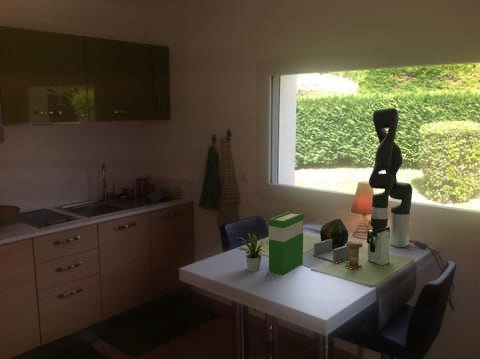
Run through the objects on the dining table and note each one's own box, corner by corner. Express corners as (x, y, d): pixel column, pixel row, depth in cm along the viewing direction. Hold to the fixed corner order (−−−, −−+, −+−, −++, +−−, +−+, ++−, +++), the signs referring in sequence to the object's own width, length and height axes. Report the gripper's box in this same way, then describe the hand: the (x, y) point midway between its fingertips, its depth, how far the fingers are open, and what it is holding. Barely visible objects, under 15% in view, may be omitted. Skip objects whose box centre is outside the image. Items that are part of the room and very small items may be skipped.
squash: (310, 233, 229) (326, 216, 220) (327, 229, 239) (343, 213, 230) (325, 255, 222) (342, 238, 213) (342, 250, 232) (359, 234, 223)
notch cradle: (329, 250, 218) (329, 238, 217) (352, 257, 207) (352, 245, 206) (313, 255, 211) (313, 243, 210) (335, 263, 200) (335, 250, 199)
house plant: (231, 265, 197) (230, 231, 195) (258, 261, 203) (258, 227, 200) (243, 276, 184) (243, 239, 182) (272, 271, 190) (272, 235, 187)
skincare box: (389, 263, 199) (391, 232, 197) (381, 265, 196) (382, 234, 194) (374, 258, 206) (376, 228, 204) (366, 260, 203) (367, 230, 201)
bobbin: (352, 262, 200) (353, 240, 198) (364, 267, 194) (365, 243, 193) (342, 266, 196) (343, 242, 194) (355, 270, 190) (355, 246, 189)
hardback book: (288, 260, 204) (289, 211, 200) (302, 263, 199) (303, 213, 195) (268, 272, 189) (269, 219, 186) (283, 275, 185) (283, 221, 181)
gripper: (381, 212, 205) (380, 245, 207) (363, 217, 197) (361, 251, 199) (395, 215, 199) (393, 249, 202) (377, 220, 191) (375, 255, 193)
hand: (377, 250), depth 200 cm, fingers open, 8 cm apart
